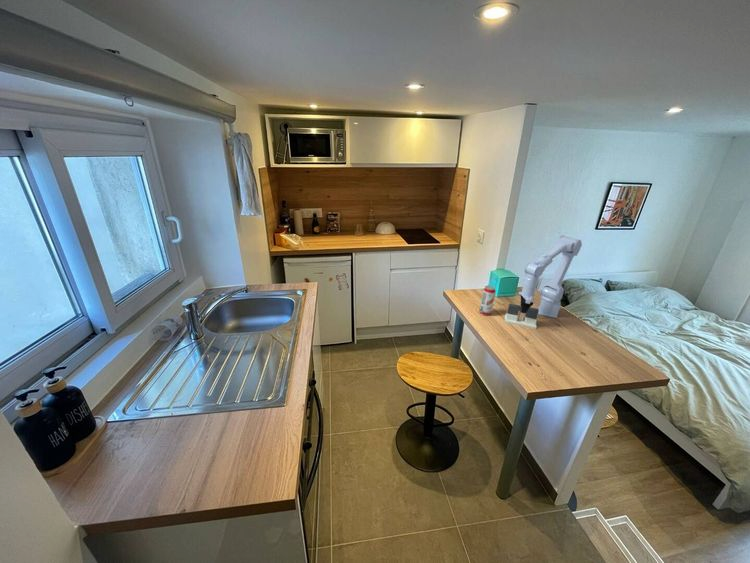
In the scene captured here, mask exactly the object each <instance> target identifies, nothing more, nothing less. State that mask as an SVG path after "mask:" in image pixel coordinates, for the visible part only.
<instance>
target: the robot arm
mask: <svg viewBox="0 0 750 563" xmlns="http://www.w3.org/2000/svg"><path fill="white" fill-rule="evenodd" d="M582 246H583V244H582V240H581V239H577V238H572V237H569V236H565V235H560V236H558V238H557V239H556V241H555V245H554V246H552V248H551V249H550V250H548V252H547V253H543V254H542V255H540V256H539V257H538V258H537V259H536V260H534V261H533V262H530V263H528V264H527V265H526V266H525V268H524V282H523V286H522V290H521V291H518V295H520V306H522V313H525V314H526V313H527V311H528V309H529V308H530V307H531V308H532V306H533V305H534V302H532V300H533V298H534V297H535V292H536V288H537V285H538V281H539V278H540V277H541V276H542V275H543V273H544V271H545V270H546V268H547V267H548V266H549V265H551V264H552V263H553V259H554V258H555V257H557V256H559V255H560V254H562V255H561V257H560V259H559V262H558V264H557V266H556V268H555V270H554V272H553V275H552V277H551V279H550V281H547V282H544V283H543V285H542V287H541V288H540V289H539V290H540V291H539V295H540V297H541V300H540V304H539V307H536V308H537V309H538V310H539V312H538V316H539V315H540V316H544V317H550V318H556V319H557V318H558V315H559V312H560V309H561V305H562V304H561V300H562V299H563V295H564V292H565V288H564V287H563V286H562V282H563V280H564V278H565V275H566V274H567V272H568V270H569V268H570V265H571V263H572V262H573V259H574V257H575V256H578V254H579V253H580V250H581V248H582Z"/></svg>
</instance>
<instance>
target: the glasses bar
mask: <svg viewBox="0 0 750 563" xmlns="http://www.w3.org/2000/svg"><path fill="white" fill-rule="evenodd" d="M537 308H538V307H532V306H531V307H530V308H529V309H528V311H527V313H525V314H526V315H525V314H524V317H525V316H526V317H527V318H532V319H537V318H538V316H539V314H538V312H539V310H538V309H537ZM520 311H522V306H521V304H514V303H509V304H508V307H507V310H506V314H512V315H517V316H519V313H520Z"/></svg>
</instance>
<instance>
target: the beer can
mask: <svg viewBox="0 0 750 563" xmlns="http://www.w3.org/2000/svg"><path fill="white" fill-rule="evenodd" d="M495 296H496V287H494V286H492V285H485V286H484V288H483V291H482V296H481V299H480V306H479V313H480V314H481V315H483V316H489V315H491V314H492V310H493V306H494V303H495V302H494V301H495Z"/></svg>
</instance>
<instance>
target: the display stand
mask: <svg viewBox="0 0 750 563" xmlns="http://www.w3.org/2000/svg"><path fill="white" fill-rule="evenodd" d="M525 315H526V313H522V311H519V313H518V316H517V315H512V314H507V313H505V314H504V323H505V324H511V325H515V326H516V325H517V326H520V327H521V326H522V327H527V328H532V329H535V330H536V329H537V319H532V318H527V317H526V316H525Z"/></svg>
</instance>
